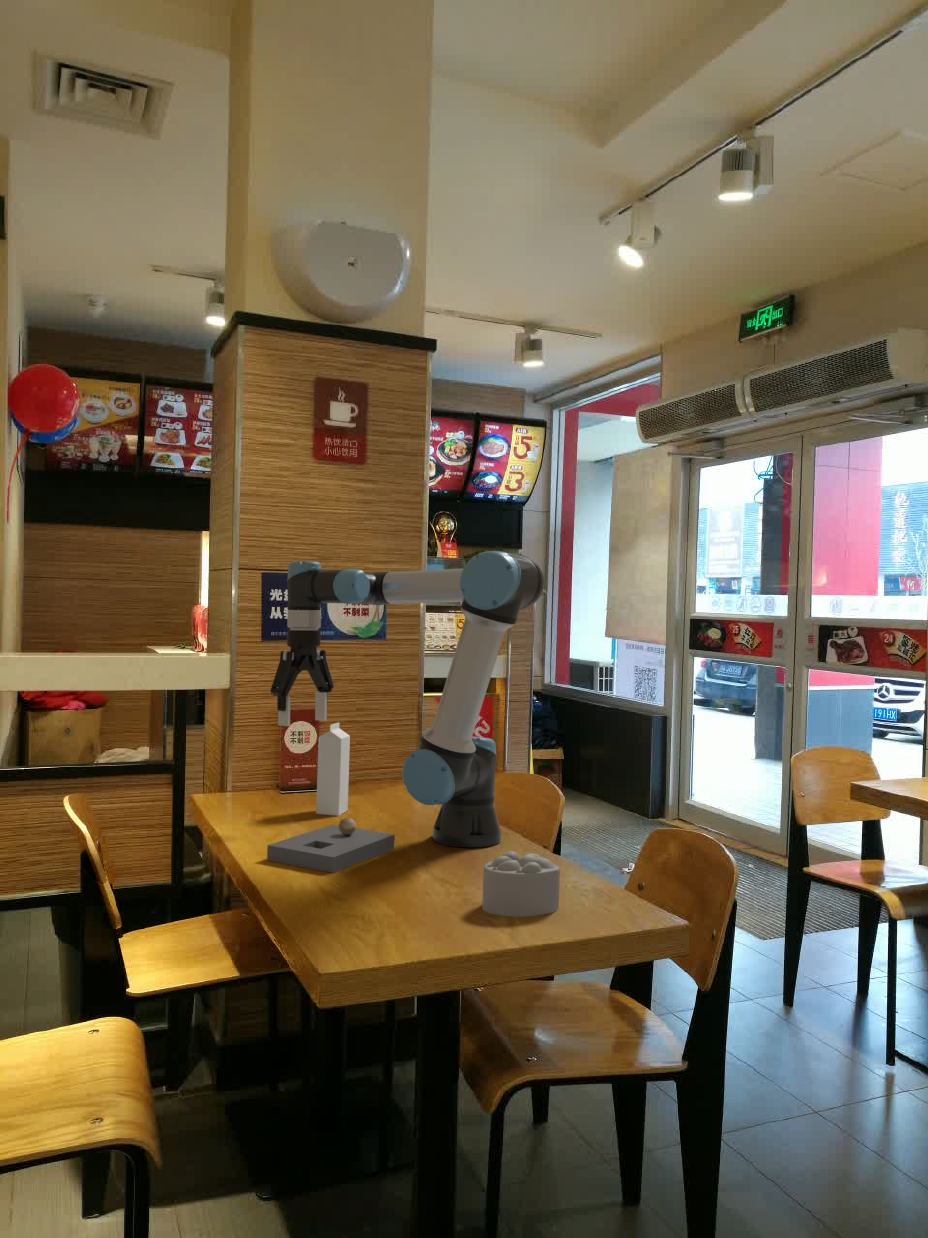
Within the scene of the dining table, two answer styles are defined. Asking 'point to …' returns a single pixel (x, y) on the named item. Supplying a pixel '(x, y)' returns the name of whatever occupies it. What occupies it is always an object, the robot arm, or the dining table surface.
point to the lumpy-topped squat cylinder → (520, 885)
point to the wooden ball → (347, 826)
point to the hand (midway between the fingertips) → (302, 723)
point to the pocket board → (330, 848)
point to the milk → (333, 772)
